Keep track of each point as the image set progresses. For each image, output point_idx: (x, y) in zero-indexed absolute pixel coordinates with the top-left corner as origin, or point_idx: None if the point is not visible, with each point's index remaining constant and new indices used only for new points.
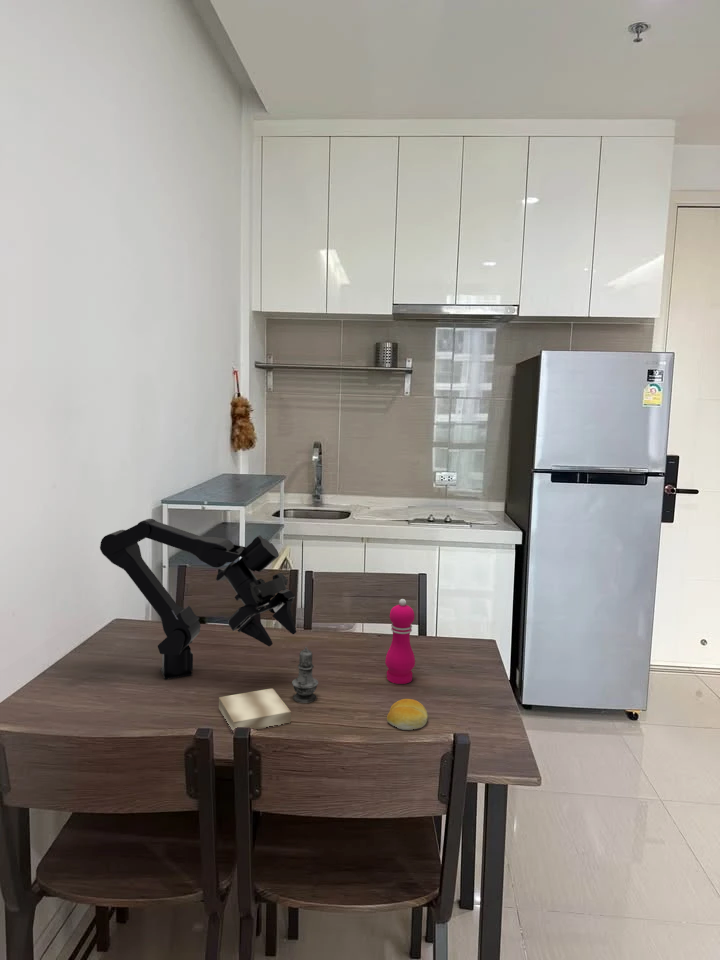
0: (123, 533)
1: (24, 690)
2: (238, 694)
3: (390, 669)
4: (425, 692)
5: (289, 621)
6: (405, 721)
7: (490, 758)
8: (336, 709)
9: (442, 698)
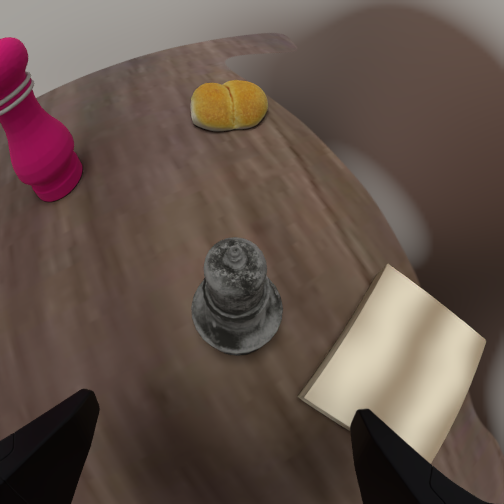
0: None
1: None
2: None
3: (64, 167)
4: (108, 126)
5: (51, 446)
6: (264, 93)
7: (270, 47)
8: (255, 219)
9: (125, 104)
